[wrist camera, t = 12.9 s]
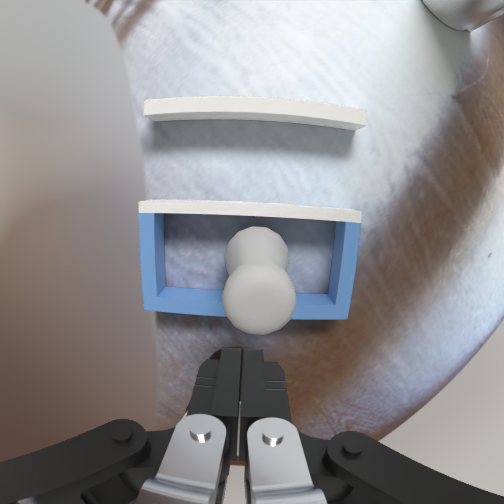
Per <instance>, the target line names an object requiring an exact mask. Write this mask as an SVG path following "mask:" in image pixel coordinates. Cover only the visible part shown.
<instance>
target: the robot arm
mask: <svg viewBox="0 0 504 504" xmlns="http://www.w3.org/2000/svg"><path fill="white" fill-rule="evenodd" d="M422 1H423V2H424V4H425V5H426V6H427V8H428V9H429V10H430V11H431V12H432V13H433V14H434V15H435V16H436V17H437V18H438V19H439V20H441V21H442V22H443V23H444V24H446V25H447V26H449V27H451V28H453V29H455V30H459V31H463V30H468V31H469V32H471V31H473V30H475V29H477V28H479V27H480V26H482V25H484V24H486V23H488V22H490V21H492V20H493V19H495V18H497V17H499V16H501V15H503V14H504V0H422ZM241 356H242V348H227V347H222V351H221V357H220V360H212V359H207V360H206V361H205V362H204V363H203V364H202V365H201V366H200V367H199V371H198V374H197V378H196V382H195V386H194V389H193V393H192V397H191V401H190V404H189V408H188V412H187V415H186V417H185V418H183V419H182V420H180V421H179V422H178V424H177V425H176V427H174V428H172V429H168V430H163V431H149V432H146V431H145V429H144V428H143V427H142V426H141V425H140V424H138V423H137V422H135V421H132V420H128V419H117V420H113V421H111V422H108V423H106V424H104V425H101V426H99V427H97V428H95V429H92V430H90V431H87V432H85V433H83V434H80V435H78V436H75V437H73V438H71V439H68V440H65V441H63V442H60V443H58V444H55V445H52V446H49V447H47V448H44V449H41V450H38V451H35V452H32V453H29V454H26V455H23V456H20V457H17V458H14V459H10V460H7V461H3V462H0V504H223V500H224V495H225V489H226V484H227V477H228V475H229V468H230V460H237V442H238V422H239V404H240V383H241ZM286 389H287V388H286V382H285V375H284V370H283V369H282V368H281V367H280V366H279V364H278V363H277V362H264V357H263V349H248V348H243V368H242V389H241V410H240V436H239V460H240V461H245V476H244V483H245V497H246V504H504V497H503V496H500V495H497V494H494V493H491V492H488V491H485V490H482V489H479V488H477V487H474V486H471V485H469V484H466V483H464V482H461V481H458V480H456V479H454V478H451V477H449V476H447V475H444V474H442V473H440V472H438V471H435V470H433V469H431V468H429V467H427V466H424V465H422V464H420V463H418V462H416V461H414V460H412V459H410V458H408V457H406V456H404V455H402V454H400V453H398V452H396V451H394V450H392V449H391V448H389V447H387V446H385V445H383V444H381V443H380V442H378V441H376V440H374V439H372V438H371V437H369V436H367V435H365V434H363V433H360V432H356V431H346V432H341V433H339V434H337V435H335V436H334V437H332V438H331V440H324V439H318V438H313V437H309V436H307V435H304V434H303V433H301V432H300V431H298V430H297V429H296V427H295V426H294V425H293V423H292V420H291V413H290V407H289V400H288V394H287V390H286Z"/></svg>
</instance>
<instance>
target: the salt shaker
mask: <svg viewBox="0 0 504 504" xmlns="http://www.w3.org/2000/svg"><path fill="white" fill-rule="evenodd" d="M224 259H225V264H226V269H227V272H228V274H229V277H228V279H227V281H226V284H225V287H224V290H223V294H222V300H223V305H224V310H225V314H226V316H227V317H228V319H229V320H230V321H231V323H232V324H233V325H234V327H236V328H238V329H240V330H242V331H244V332H246V333H248V334H258V335H266V334H269V333H272V332H274V331H277V330H279V329H281V328H282V327H283V326H284V325H285V324H286V323H287V322H288V321H290V320H291V317H292V315H293V312H294V310H295V307H296V292H295V285H294V284H293V282H292V280H291V279H290V277H289V276H288V275H287V273H286V272H287V268H288V264H289V254H288V247H287V245H286V244H285V242H284V241H283V239H282V238H281V236H280V235H279V234H277V233H275V232H274V231H272V230H270V229H269V228H267V227H255V226H252V227H249V228H246V229H244V230H241V231H239V232H237V233H236V235H235V236H234V237H233V238H232V239H231V240H230V241H229V242H228V245H227V248H226V251H225V254H224Z"/></svg>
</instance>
